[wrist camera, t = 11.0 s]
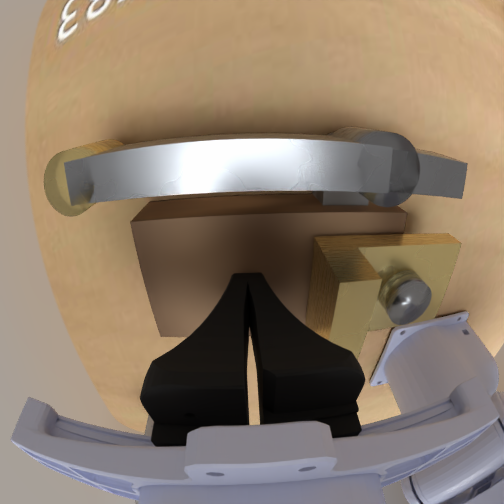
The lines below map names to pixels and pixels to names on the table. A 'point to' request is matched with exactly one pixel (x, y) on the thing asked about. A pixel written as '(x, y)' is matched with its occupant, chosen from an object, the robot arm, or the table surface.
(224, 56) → the table surface
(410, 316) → the brass block with knob
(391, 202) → the lever
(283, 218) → the brown flat block
